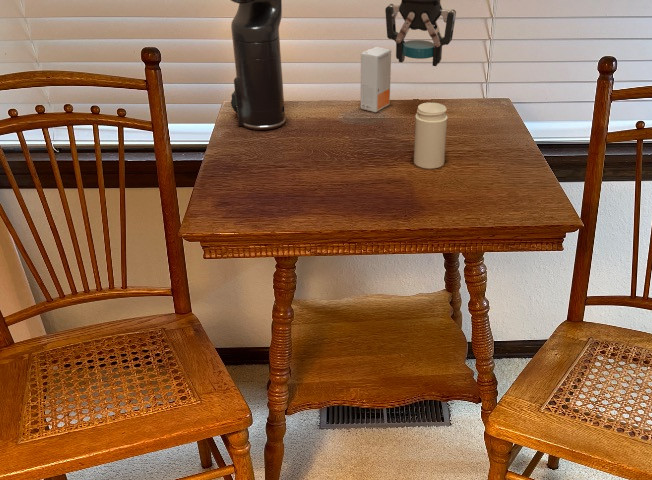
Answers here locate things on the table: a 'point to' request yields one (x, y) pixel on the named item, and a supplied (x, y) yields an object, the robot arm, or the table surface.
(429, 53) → the jam lid
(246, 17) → the robot arm
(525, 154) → the table surface
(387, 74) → the cosmetic box
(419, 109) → the white jar
